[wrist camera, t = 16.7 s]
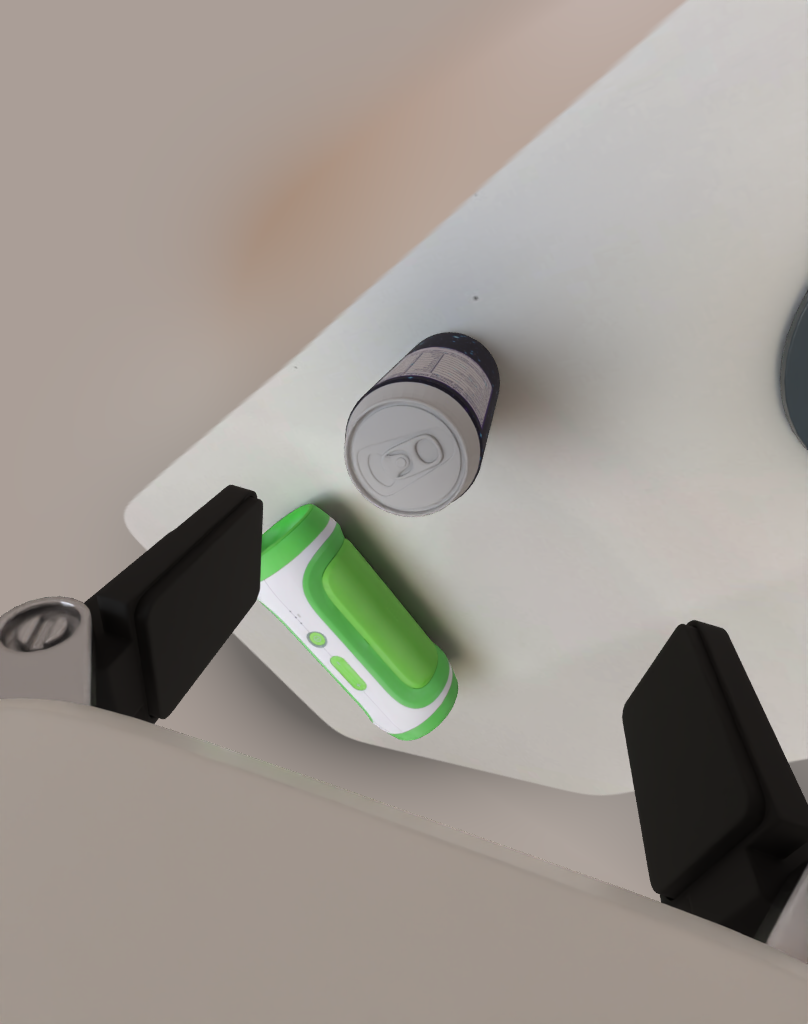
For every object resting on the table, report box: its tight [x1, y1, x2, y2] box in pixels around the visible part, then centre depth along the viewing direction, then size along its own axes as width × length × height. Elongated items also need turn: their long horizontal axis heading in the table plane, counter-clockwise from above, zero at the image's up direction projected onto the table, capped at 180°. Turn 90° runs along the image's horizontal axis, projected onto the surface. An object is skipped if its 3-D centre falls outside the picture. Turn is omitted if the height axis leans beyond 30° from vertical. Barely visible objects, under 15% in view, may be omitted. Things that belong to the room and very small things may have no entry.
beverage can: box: [344, 332, 500, 517], centre depth 24 cm, size 6×6×12 cm
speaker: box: [257, 504, 458, 741], centre depth 35 cm, size 18×7×8 cm, turn 36°
